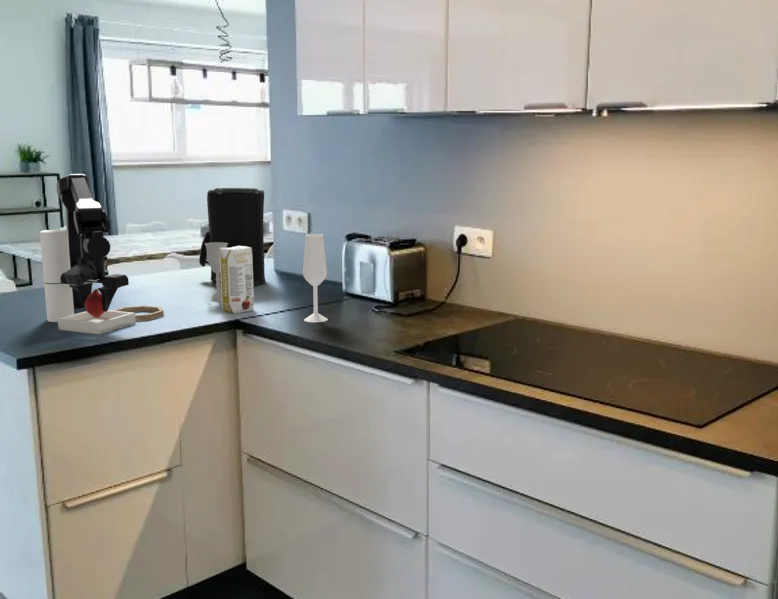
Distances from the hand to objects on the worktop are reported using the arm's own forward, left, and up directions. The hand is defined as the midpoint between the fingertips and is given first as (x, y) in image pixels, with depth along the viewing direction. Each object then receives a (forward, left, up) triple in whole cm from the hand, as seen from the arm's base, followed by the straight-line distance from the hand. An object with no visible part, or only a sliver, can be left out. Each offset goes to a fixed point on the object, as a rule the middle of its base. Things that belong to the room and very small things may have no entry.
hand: (96, 310), depth 216 cm
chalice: (+9, +44, -5) cm, 45 cm away
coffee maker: (-5, +72, -5) cm, 72 cm away
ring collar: (+1, +15, -4) cm, 16 cm away
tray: (0, 0, -4) cm, 4 cm away
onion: (0, 0, -2) cm, 2 cm away
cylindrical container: (-16, +3, -5) cm, 17 cm away
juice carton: (+24, +32, -5) cm, 40 cm away
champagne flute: (+51, +30, -5) cm, 59 cm away
